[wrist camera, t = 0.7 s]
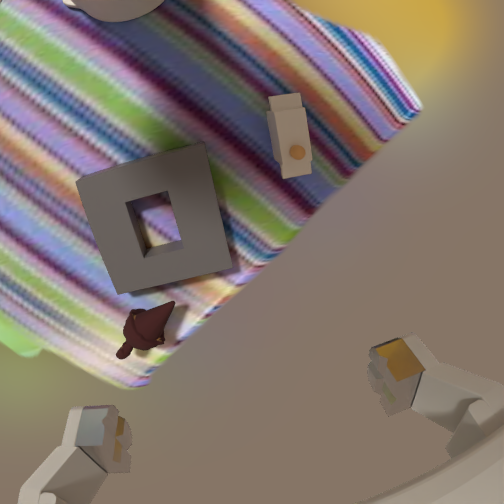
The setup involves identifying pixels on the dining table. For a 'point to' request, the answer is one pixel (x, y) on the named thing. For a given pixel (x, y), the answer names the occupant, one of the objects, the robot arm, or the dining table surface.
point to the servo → (289, 135)
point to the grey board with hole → (185, 211)
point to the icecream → (145, 329)
